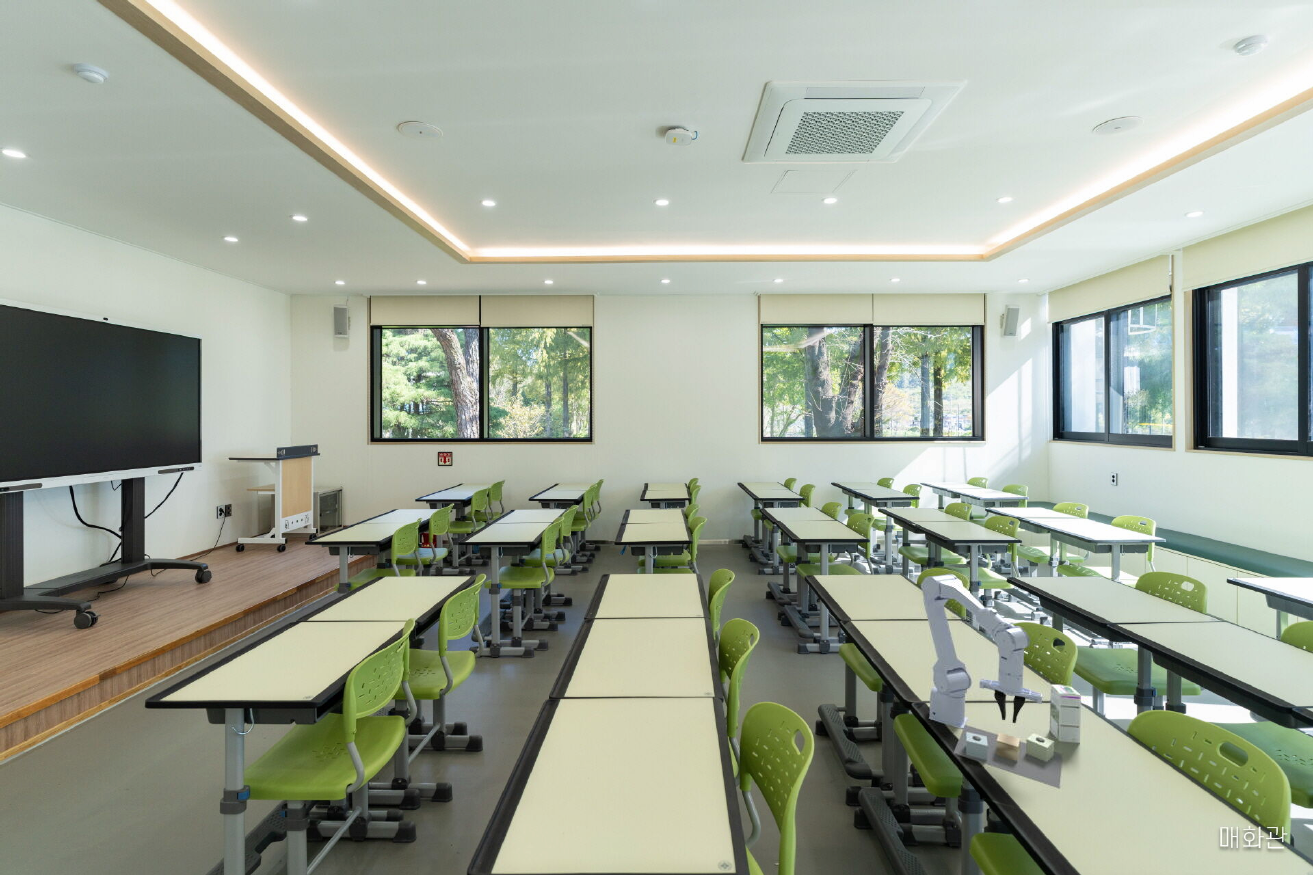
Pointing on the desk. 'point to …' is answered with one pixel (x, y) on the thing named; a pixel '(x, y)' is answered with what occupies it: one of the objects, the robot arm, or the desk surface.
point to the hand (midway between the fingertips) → (1009, 719)
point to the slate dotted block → (976, 745)
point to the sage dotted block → (1040, 747)
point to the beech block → (1008, 746)
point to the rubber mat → (1023, 766)
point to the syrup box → (1065, 713)
